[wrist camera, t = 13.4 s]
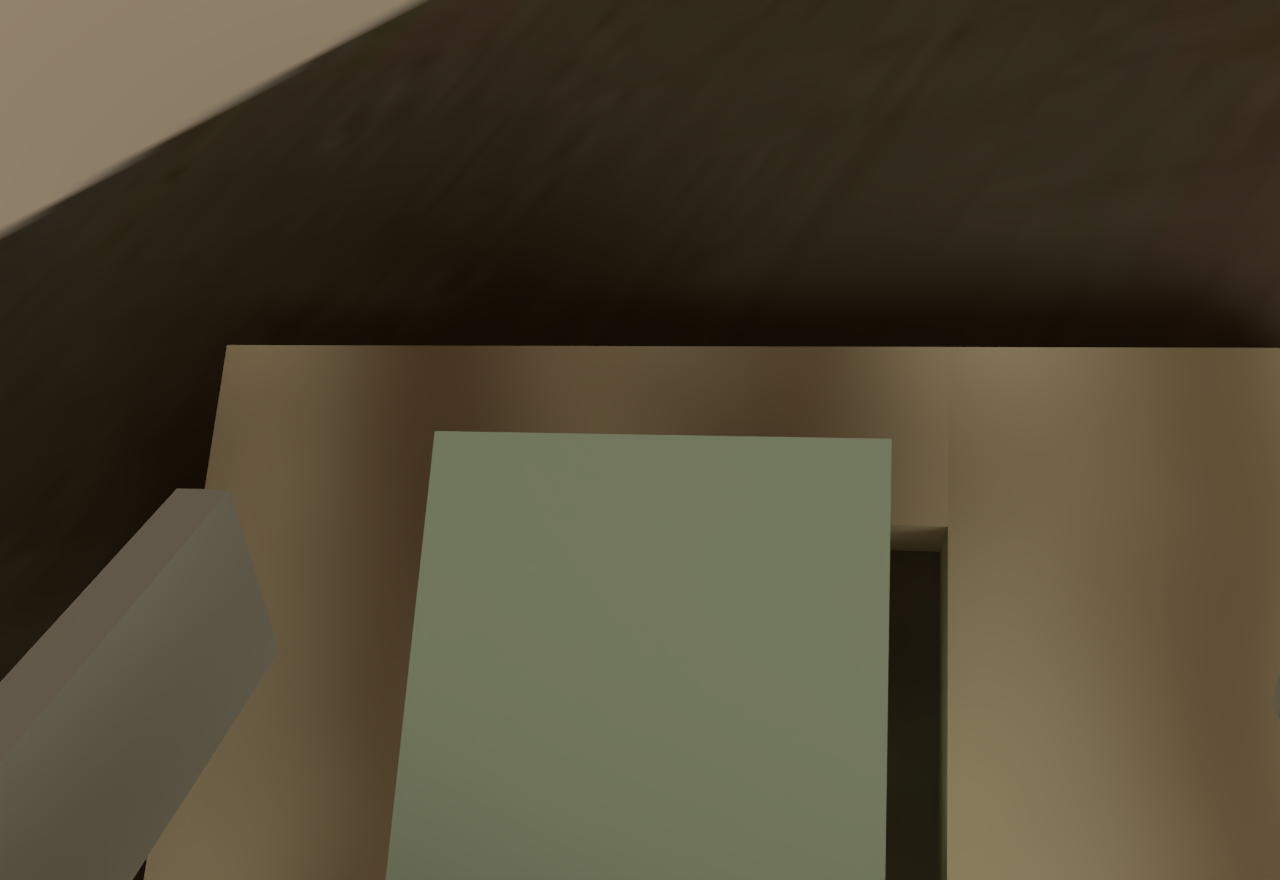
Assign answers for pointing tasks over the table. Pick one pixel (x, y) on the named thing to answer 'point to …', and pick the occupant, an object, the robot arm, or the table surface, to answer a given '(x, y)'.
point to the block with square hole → (918, 595)
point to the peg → (648, 660)
